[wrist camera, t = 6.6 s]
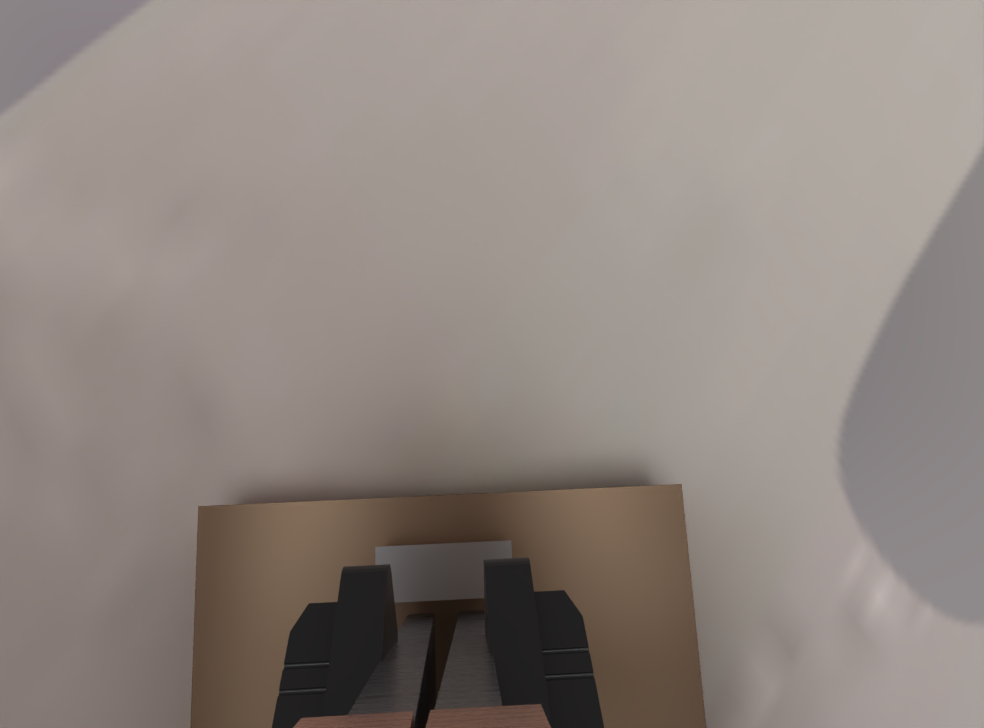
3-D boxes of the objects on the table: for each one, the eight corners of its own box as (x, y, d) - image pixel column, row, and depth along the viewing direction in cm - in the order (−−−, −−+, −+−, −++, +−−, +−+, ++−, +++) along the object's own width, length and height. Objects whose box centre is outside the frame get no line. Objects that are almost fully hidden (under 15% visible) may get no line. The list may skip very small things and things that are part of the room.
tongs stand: (224, 826, 21) (151, 910, 16) (232, 512, 22) (169, 501, 18) (682, 796, 21) (747, 868, 16) (653, 493, 23) (705, 477, 18)
